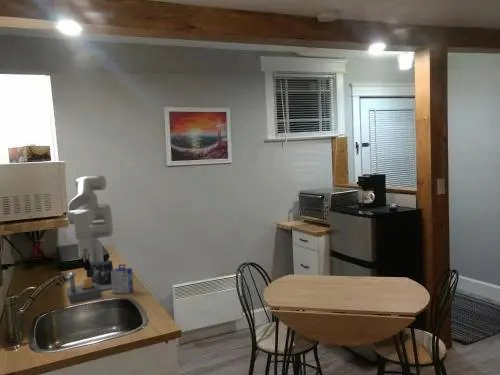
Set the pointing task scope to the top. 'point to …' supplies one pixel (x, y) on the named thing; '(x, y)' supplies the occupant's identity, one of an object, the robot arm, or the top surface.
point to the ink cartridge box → (122, 280)
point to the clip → (70, 276)
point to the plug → (87, 283)
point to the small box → (100, 272)
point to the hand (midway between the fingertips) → (86, 267)
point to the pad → (105, 287)
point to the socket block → (82, 292)
